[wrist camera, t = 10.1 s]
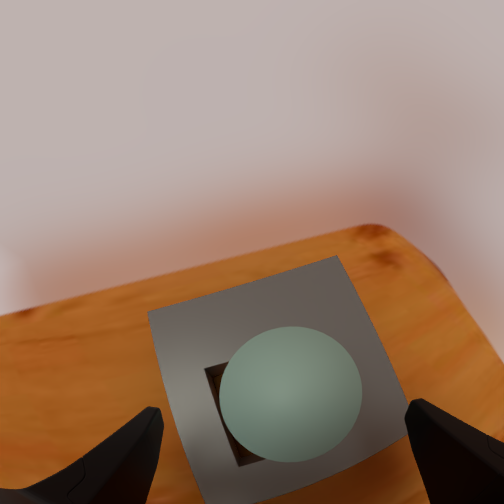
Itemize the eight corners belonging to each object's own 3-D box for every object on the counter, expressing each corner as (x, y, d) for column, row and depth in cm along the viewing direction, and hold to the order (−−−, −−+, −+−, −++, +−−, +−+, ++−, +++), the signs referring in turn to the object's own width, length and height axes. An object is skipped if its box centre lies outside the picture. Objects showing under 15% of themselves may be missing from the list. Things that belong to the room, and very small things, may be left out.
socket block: (391, 428, 17) (417, 427, 14) (216, 496, 15) (209, 513, 11) (324, 279, 24) (337, 255, 21) (162, 329, 22) (147, 311, 18)
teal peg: (282, 445, 17) (322, 481, 7) (223, 416, 18) (192, 420, 8) (312, 390, 19) (381, 359, 9) (255, 362, 20) (263, 303, 10)
